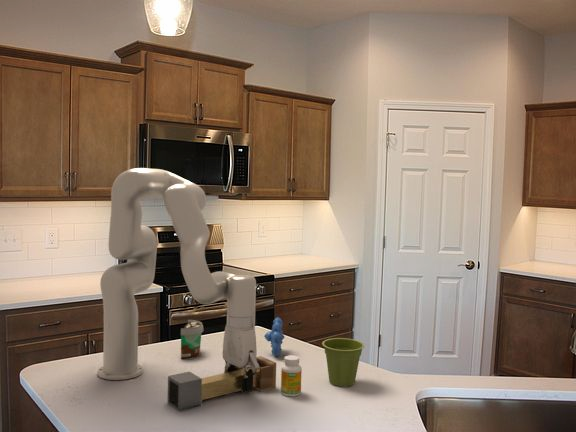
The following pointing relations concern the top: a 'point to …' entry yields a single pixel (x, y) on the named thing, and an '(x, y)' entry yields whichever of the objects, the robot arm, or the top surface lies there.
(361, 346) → the plant pot
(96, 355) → the top surface
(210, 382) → the long gold plank
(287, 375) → the supplement bottle
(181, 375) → the steel sleeve
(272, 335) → the grapes
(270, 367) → the walnut socket
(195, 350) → the food container
